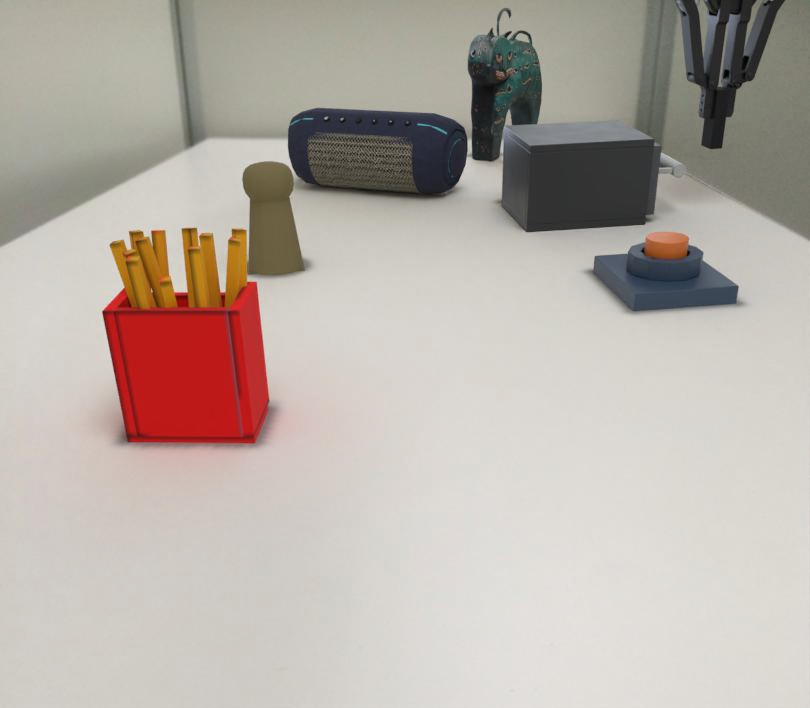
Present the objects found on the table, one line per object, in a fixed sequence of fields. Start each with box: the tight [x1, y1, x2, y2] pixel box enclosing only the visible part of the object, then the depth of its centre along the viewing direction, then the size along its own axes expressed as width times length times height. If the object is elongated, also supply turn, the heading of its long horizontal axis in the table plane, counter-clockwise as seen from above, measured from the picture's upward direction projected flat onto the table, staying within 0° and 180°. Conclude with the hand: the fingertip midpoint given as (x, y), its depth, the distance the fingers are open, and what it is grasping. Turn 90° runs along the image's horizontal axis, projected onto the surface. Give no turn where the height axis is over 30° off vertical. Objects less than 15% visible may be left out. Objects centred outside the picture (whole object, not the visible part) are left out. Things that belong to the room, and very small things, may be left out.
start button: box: [644, 231, 690, 259], centre depth 93 cm, size 4×4×2 cm
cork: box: [241, 160, 306, 276], centre depth 100 cm, size 6×6×11 cm
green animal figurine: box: [467, 7, 543, 162], centre depth 148 cm, size 20×6×20 cm, turn 149°
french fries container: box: [101, 227, 270, 444], centre depth 68 cm, size 7×9×14 cm
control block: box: [592, 241, 740, 312], centre depth 94 cm, size 10×12×4 cm
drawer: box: [646, 141, 687, 216], centre depth 118 cm, size 18×11×8 cm, turn 99°
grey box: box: [501, 119, 656, 233], centre depth 117 cm, size 15×13×10 cm
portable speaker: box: [287, 107, 469, 196], centre depth 130 cm, size 25×10×10 cm, turn 67°
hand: (711, 146), depth 118 cm, fingers closed
